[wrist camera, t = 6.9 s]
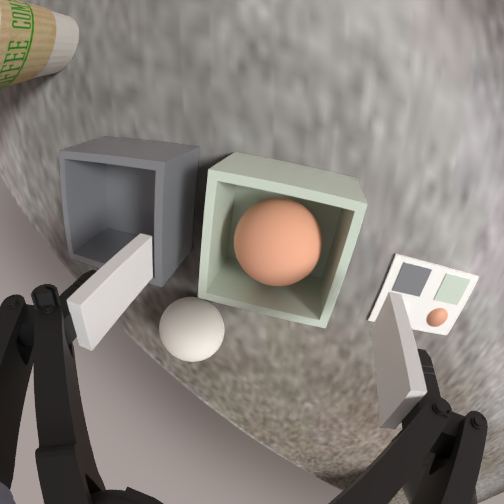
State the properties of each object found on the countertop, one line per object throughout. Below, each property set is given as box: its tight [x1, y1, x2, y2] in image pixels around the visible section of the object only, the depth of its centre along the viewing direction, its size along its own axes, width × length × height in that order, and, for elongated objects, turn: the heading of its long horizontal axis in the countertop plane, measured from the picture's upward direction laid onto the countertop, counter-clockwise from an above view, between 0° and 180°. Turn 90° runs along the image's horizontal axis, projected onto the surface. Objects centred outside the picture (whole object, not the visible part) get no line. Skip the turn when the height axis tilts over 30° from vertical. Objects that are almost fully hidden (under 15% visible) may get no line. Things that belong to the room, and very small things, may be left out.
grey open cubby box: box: [59, 136, 200, 287], centre depth 23 cm, size 9×9×6 cm
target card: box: [368, 254, 479, 335], centre depth 25 cm, size 7×9×1 cm
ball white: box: [159, 297, 224, 362], centre depth 28 cm, size 6×6×6 cm
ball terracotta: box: [234, 198, 322, 286], centre depth 21 cm, size 6×6×6 cm
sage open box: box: [198, 152, 368, 328], centre depth 22 cm, size 9×9×6 cm
